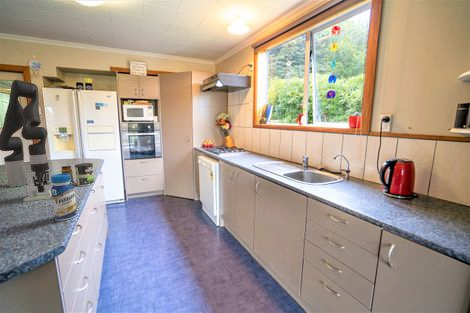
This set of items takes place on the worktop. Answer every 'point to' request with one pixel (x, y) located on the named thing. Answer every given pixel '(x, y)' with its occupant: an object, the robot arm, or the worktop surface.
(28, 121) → the robot arm
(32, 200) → the pale green pegged board
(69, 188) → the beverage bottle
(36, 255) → the worktop surface
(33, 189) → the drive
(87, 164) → the coffee can
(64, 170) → the condiment
